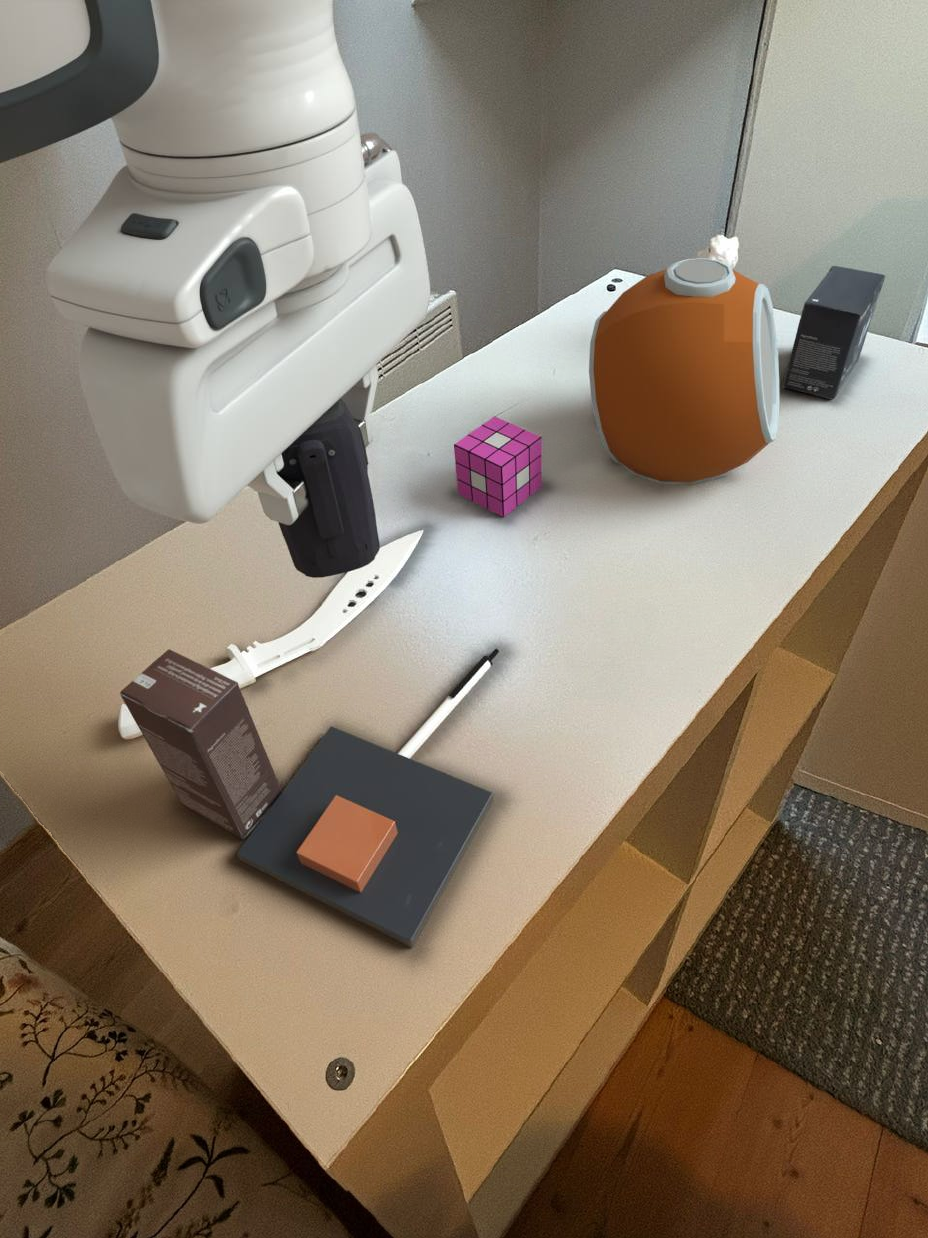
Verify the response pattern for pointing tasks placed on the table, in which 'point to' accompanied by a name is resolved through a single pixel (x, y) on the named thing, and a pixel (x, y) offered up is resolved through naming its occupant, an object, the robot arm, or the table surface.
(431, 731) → the pen
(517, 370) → the table surface
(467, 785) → the slate tile
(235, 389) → the robot arm
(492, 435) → the puzzle toy
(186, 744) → the box
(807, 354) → the box
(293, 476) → the two-way radio
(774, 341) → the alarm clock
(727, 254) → the white creature statuette
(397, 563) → the knife
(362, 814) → the orange square block
